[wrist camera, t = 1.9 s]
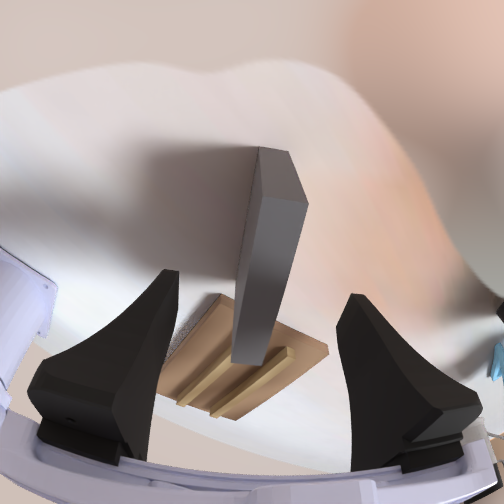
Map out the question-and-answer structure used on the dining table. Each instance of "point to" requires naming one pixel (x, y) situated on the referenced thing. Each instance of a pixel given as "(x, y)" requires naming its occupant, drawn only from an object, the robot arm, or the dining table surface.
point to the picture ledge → (233, 366)
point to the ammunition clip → (501, 312)
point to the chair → (498, 363)
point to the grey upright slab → (266, 253)
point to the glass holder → (478, 432)
